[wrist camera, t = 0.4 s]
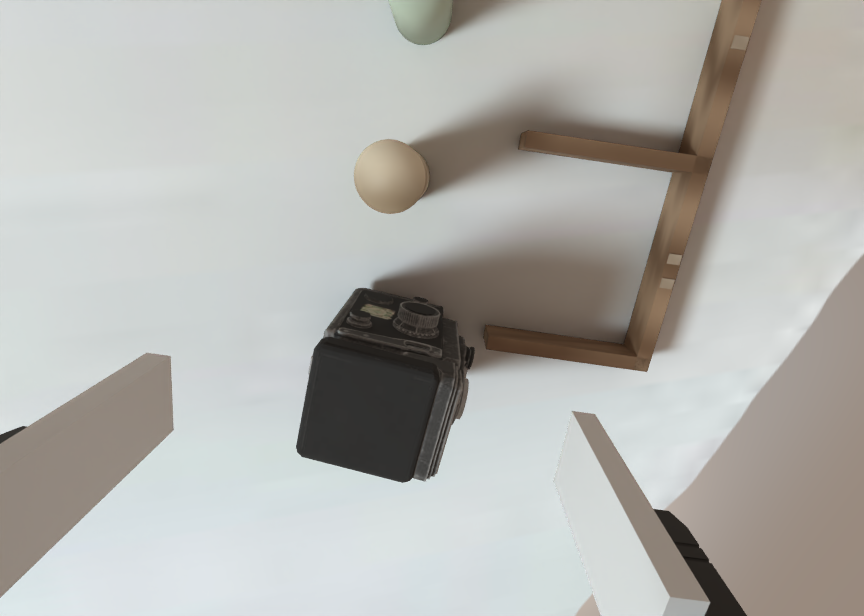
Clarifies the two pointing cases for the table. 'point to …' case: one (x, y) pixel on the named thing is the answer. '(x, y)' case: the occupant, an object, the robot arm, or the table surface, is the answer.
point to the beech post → (391, 176)
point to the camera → (385, 387)
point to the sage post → (422, 19)
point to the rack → (677, 208)
